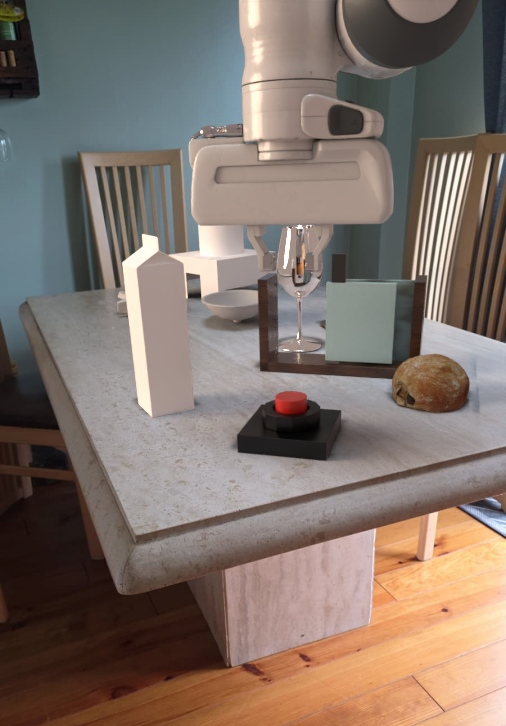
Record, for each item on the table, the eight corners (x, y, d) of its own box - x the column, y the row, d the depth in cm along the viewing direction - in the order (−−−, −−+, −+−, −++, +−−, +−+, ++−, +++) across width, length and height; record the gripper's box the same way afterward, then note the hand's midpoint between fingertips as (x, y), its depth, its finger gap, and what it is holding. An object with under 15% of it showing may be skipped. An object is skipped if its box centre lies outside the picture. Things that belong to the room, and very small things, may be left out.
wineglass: (268, 347, 109) (265, 227, 101) (297, 338, 114) (297, 223, 106) (302, 355, 104) (302, 229, 96) (331, 345, 109) (333, 225, 101)
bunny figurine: (118, 303, 130) (112, 283, 143) (120, 326, 133) (115, 305, 145) (162, 299, 133) (153, 280, 145) (164, 322, 135) (155, 301, 148)
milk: (179, 397, 87) (165, 231, 78) (195, 410, 82) (183, 235, 74) (137, 404, 85) (118, 235, 76) (151, 418, 80) (133, 238, 71)
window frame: (419, 368, 96) (427, 275, 90) (417, 380, 91) (425, 282, 85) (269, 360, 102) (268, 273, 97) (259, 371, 97) (257, 279, 91)
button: (309, 406, 72) (309, 391, 71) (303, 417, 69) (303, 402, 68) (279, 404, 73) (279, 389, 72) (271, 414, 70) (271, 400, 69)
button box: (340, 426, 75) (341, 395, 74) (325, 461, 67) (326, 427, 65) (261, 420, 78) (261, 390, 77) (237, 453, 70) (235, 419, 68)
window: (392, 362, 93) (399, 253, 86) (391, 363, 92) (398, 254, 86) (326, 358, 96) (328, 253, 89) (325, 360, 95) (326, 253, 88)
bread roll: (383, 421, 86) (370, 376, 81) (424, 375, 90) (414, 330, 85) (446, 440, 79) (436, 393, 74) (487, 390, 83) (481, 342, 78)
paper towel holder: (219, 304, 146) (211, 163, 133) (172, 295, 158) (161, 166, 146) (276, 292, 157) (274, 162, 144) (228, 285, 170) (222, 164, 157)
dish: (205, 313, 137) (203, 290, 135) (270, 311, 137) (270, 288, 135) (200, 333, 121) (198, 307, 119) (274, 330, 121) (273, 304, 119)
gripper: (174, 125, 59) (186, 274, 65) (394, 112, 53) (385, 277, 59) (198, 128, 64) (207, 265, 70) (400, 116, 59) (391, 267, 65)
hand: (290, 271), depth 65 cm, fingers open, 3 cm apart
